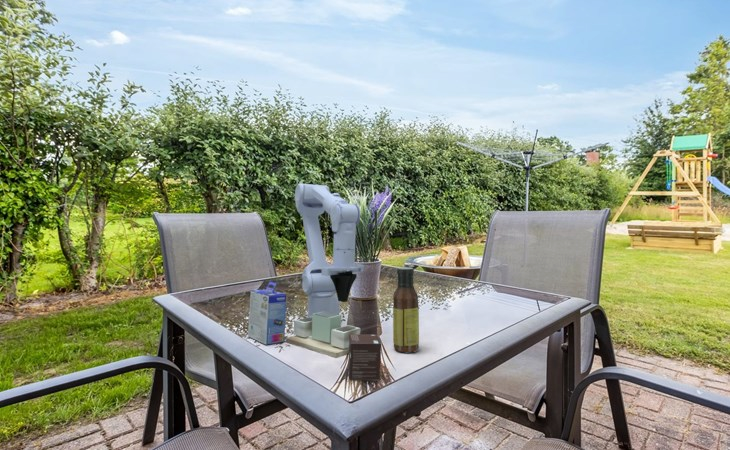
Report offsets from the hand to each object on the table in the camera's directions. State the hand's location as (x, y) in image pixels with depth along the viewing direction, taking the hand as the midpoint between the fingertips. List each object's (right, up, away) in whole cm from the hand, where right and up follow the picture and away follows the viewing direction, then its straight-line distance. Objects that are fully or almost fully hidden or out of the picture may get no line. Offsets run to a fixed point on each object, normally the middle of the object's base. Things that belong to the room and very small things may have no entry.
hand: (342, 301), depth 99 cm
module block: (-4, -8, -5) cm, 10 cm away
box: (+6, -10, -24) cm, 26 cm away
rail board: (-4, -10, -5) cm, 12 cm away
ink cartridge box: (-19, -10, -2) cm, 22 cm away
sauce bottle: (+16, -11, -7) cm, 20 cm away
